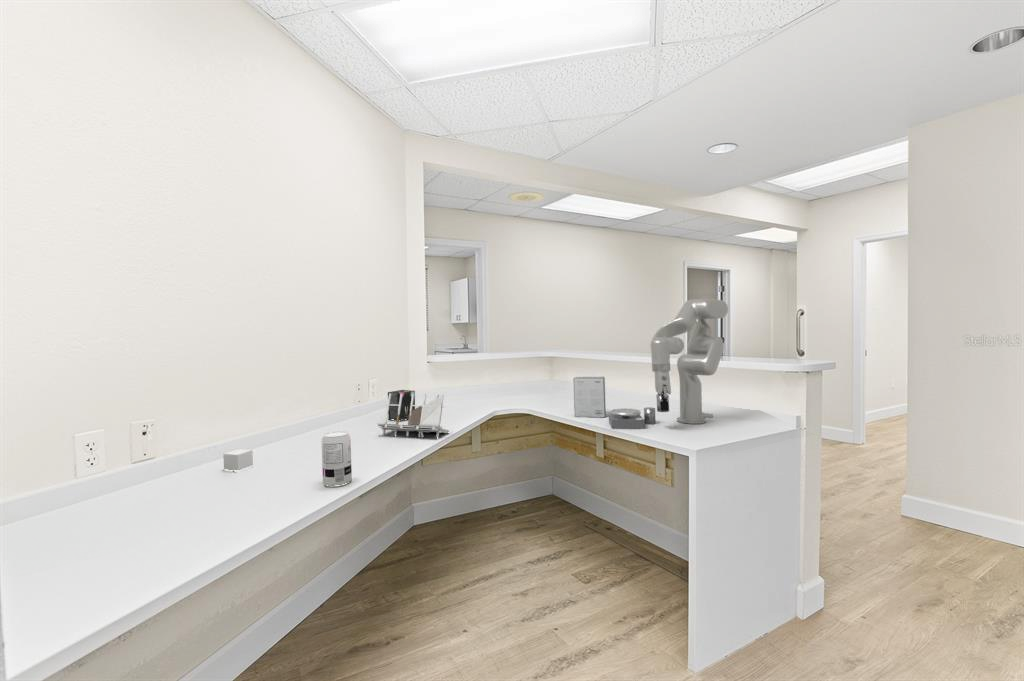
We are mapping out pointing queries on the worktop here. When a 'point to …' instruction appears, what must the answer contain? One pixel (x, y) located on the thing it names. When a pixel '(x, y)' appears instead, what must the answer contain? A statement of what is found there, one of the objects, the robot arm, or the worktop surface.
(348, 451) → the supplement can
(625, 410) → the scale pan
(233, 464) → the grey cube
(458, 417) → the worktop surface
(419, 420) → the architectural model
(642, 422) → the scale body
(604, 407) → the hard drive box
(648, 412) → the steel spacer
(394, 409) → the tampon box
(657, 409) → the cylinder
